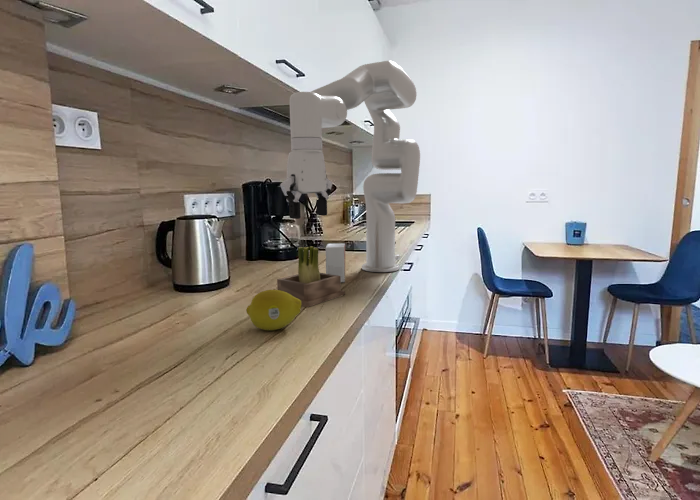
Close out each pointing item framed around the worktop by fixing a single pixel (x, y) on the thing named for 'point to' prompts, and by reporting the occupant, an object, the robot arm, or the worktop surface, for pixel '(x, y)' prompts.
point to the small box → (335, 260)
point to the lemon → (273, 309)
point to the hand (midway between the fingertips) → (308, 216)
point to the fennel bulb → (308, 265)
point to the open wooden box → (312, 288)
